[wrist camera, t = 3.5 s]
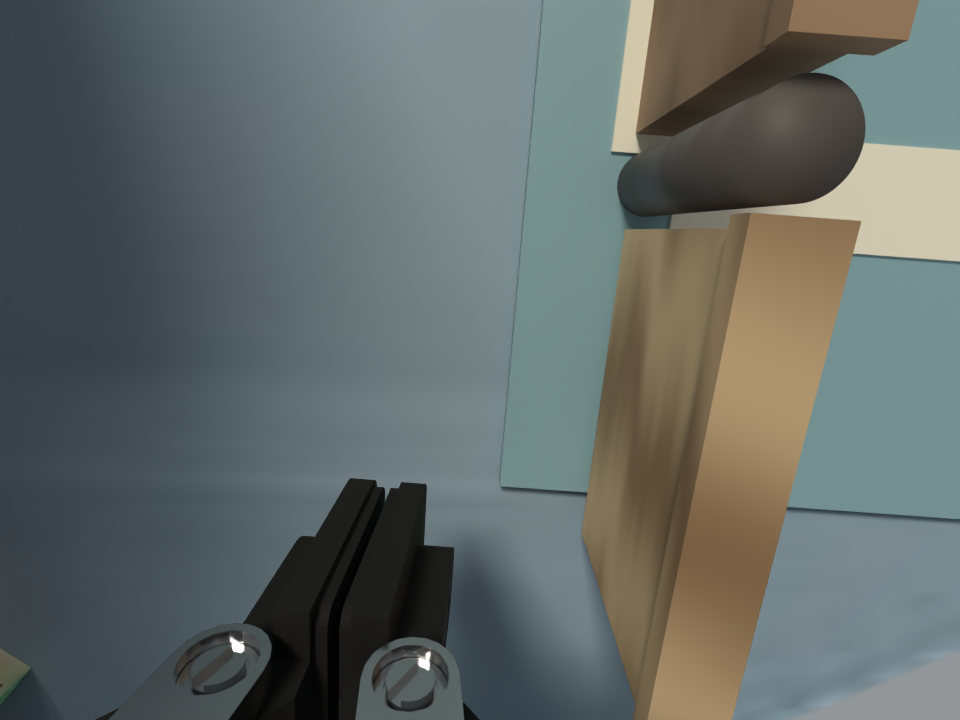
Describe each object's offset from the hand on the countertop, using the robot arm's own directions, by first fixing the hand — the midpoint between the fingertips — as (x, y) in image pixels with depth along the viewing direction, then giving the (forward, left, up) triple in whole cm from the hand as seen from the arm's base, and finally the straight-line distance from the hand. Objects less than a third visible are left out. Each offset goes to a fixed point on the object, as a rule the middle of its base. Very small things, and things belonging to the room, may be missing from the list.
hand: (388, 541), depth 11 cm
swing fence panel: (-2, +6, -5) cm, 8 cm away
